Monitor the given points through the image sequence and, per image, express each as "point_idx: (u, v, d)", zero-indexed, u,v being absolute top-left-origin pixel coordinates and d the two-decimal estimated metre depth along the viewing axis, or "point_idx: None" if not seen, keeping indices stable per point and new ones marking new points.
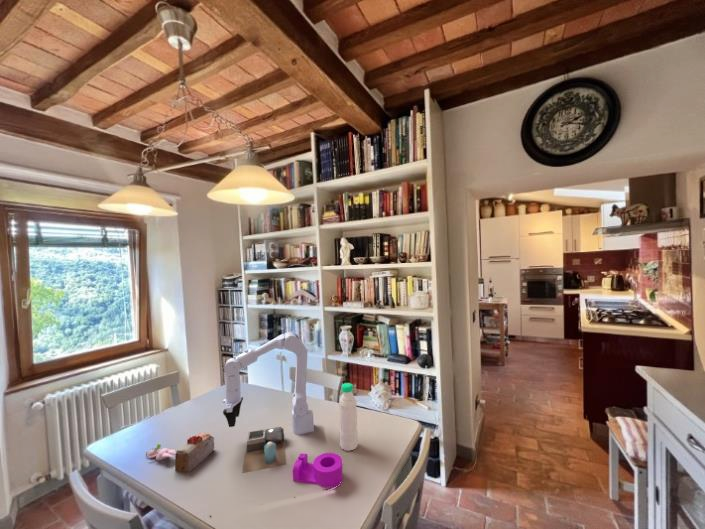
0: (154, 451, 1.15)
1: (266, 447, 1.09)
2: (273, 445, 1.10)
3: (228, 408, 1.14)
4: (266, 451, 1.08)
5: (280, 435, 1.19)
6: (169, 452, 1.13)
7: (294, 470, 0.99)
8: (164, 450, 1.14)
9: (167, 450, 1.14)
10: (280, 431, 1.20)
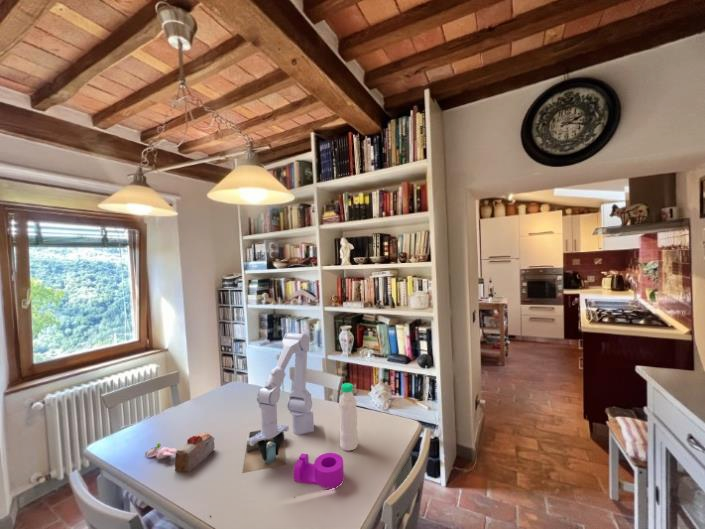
0: (154, 450, 1.16)
1: (266, 447, 1.09)
2: (273, 445, 1.10)
3: (250, 440, 1.06)
4: (266, 451, 1.08)
5: None
6: (169, 451, 1.14)
7: (295, 470, 0.99)
8: (164, 449, 1.14)
9: (167, 449, 1.15)
10: None
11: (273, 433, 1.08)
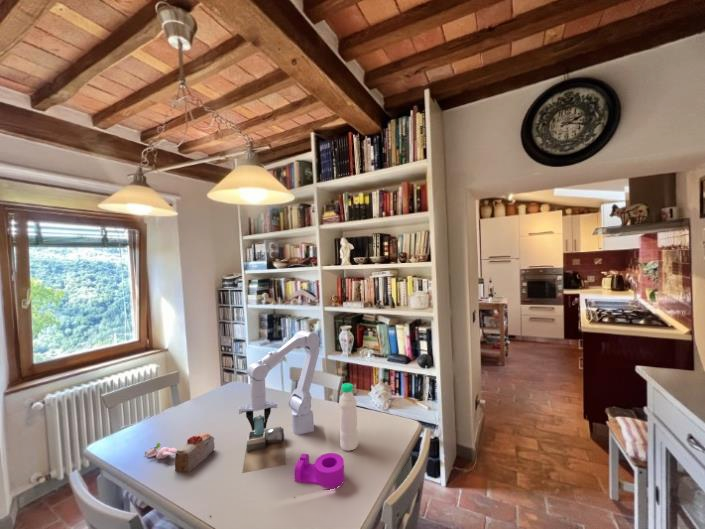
0: (153, 450, 1.16)
1: (255, 419, 1.16)
2: (261, 418, 1.16)
3: (239, 408, 1.15)
4: (254, 422, 1.15)
5: (280, 435, 1.19)
6: (169, 450, 1.14)
7: (296, 470, 0.99)
8: (164, 449, 1.15)
9: (167, 449, 1.15)
10: (280, 431, 1.20)
11: (259, 407, 1.14)
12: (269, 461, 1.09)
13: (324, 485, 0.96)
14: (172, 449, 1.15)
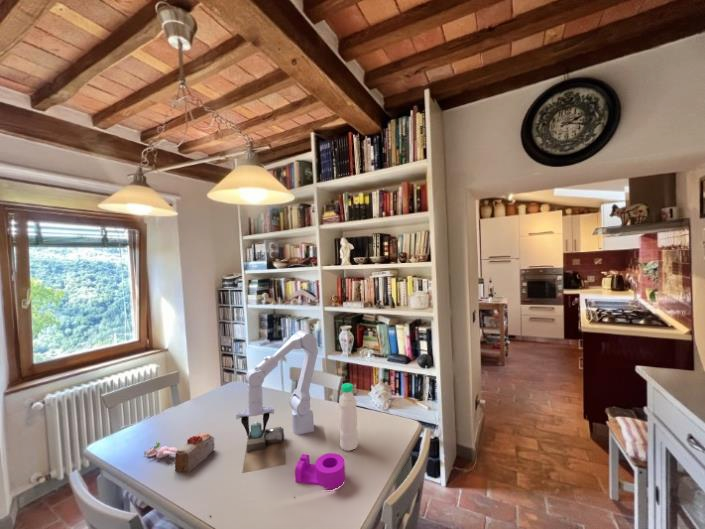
0: (153, 450, 1.16)
1: (252, 426, 1.18)
2: (258, 425, 1.19)
3: None
4: (251, 429, 1.18)
5: (280, 435, 1.19)
6: (169, 450, 1.15)
7: (296, 471, 0.99)
8: (164, 448, 1.15)
9: (167, 448, 1.16)
10: (280, 431, 1.20)
11: (255, 412, 1.16)
12: (269, 461, 1.09)
13: (325, 485, 0.96)
14: (172, 448, 1.15)
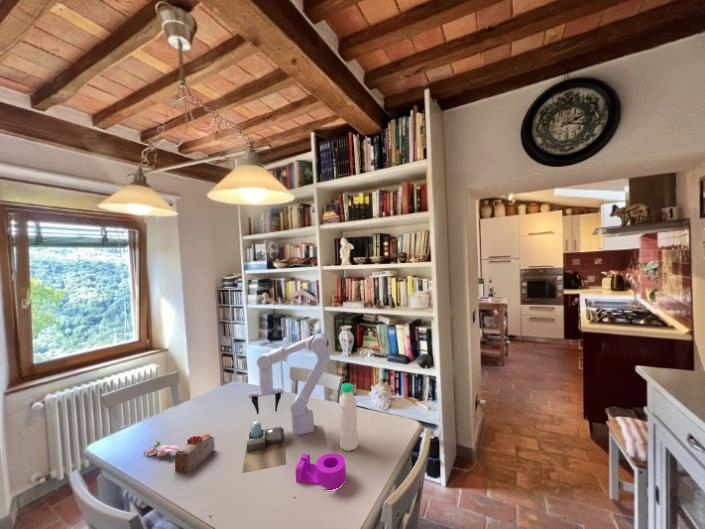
0: (153, 449, 1.17)
1: (252, 426, 1.18)
2: (258, 425, 1.19)
3: (249, 393, 1.28)
4: (251, 429, 1.18)
5: (280, 435, 1.19)
6: (171, 448, 1.16)
7: (297, 471, 0.99)
8: (165, 446, 1.16)
9: (168, 446, 1.17)
10: (280, 431, 1.20)
11: (267, 392, 1.27)
12: (269, 461, 1.09)
13: (325, 485, 0.96)
14: (173, 446, 1.17)
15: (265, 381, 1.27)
